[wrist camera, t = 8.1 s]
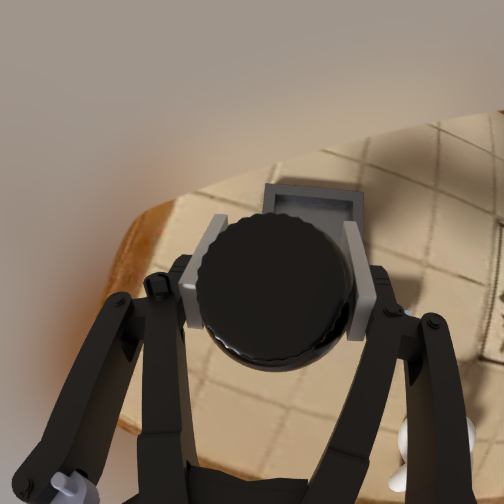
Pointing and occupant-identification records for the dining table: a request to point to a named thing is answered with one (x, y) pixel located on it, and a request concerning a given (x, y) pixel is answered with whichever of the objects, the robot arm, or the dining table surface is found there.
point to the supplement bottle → (275, 292)
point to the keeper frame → (317, 206)
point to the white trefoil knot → (399, 476)
